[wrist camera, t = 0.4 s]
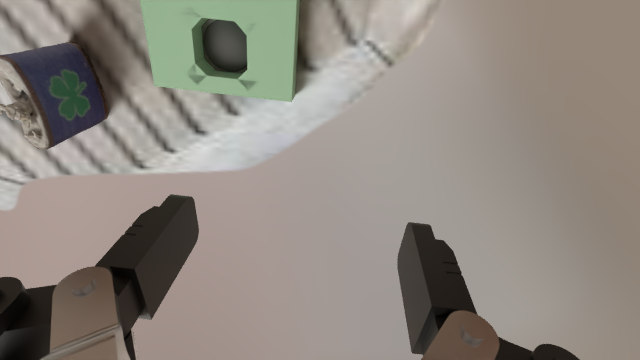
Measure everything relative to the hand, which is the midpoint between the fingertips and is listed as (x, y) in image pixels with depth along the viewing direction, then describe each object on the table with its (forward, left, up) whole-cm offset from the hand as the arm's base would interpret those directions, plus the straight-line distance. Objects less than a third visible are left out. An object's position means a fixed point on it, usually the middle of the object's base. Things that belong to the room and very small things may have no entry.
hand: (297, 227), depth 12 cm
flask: (+5, -28, -27) cm, 39 cm away
